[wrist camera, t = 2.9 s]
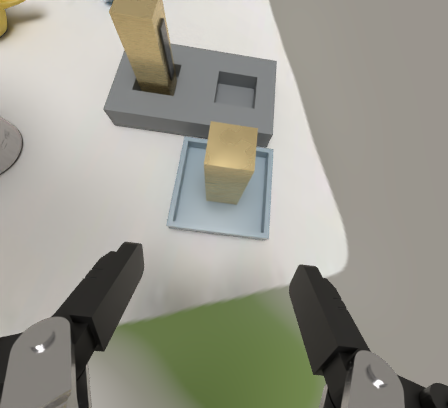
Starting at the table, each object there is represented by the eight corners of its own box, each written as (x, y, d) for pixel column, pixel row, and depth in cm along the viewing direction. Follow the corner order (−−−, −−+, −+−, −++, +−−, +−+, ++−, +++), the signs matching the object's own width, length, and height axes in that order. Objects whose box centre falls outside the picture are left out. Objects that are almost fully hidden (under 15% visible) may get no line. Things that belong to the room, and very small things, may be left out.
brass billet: (206, 200, 24) (203, 164, 15) (210, 172, 25) (210, 121, 16) (238, 205, 24) (257, 171, 15) (241, 176, 25) (260, 128, 16)
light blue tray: (169, 228, 24) (166, 225, 22) (186, 144, 27) (184, 136, 25) (263, 240, 24) (268, 238, 22) (268, 156, 27) (273, 149, 25)
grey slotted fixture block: (114, 125, 27) (103, 109, 24) (136, 57, 30) (129, 36, 28) (266, 147, 28) (272, 134, 25) (270, 79, 31) (276, 61, 28)
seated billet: (144, 97, 27) (108, 11, 18) (150, 76, 28) (120, -16, 19) (173, 102, 27) (154, 19, 18) (178, 81, 29) (163, -8, 19)
